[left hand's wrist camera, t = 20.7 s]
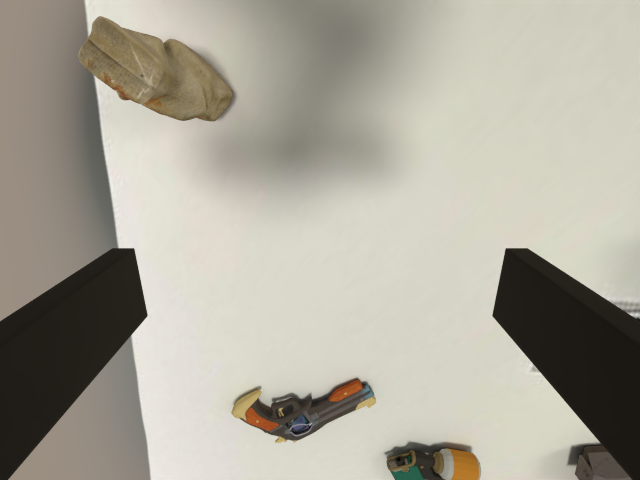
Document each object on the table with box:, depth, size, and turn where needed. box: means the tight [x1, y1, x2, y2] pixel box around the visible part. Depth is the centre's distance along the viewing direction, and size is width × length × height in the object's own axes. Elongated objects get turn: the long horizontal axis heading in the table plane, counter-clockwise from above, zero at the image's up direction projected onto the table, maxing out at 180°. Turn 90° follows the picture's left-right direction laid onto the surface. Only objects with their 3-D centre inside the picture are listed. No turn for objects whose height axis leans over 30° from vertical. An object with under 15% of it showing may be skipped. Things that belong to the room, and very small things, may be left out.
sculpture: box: [78, 16, 233, 121], centre depth 29 cm, size 6×7×15 cm
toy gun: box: [232, 380, 376, 443], centre depth 49 cm, size 3×19×10 cm
